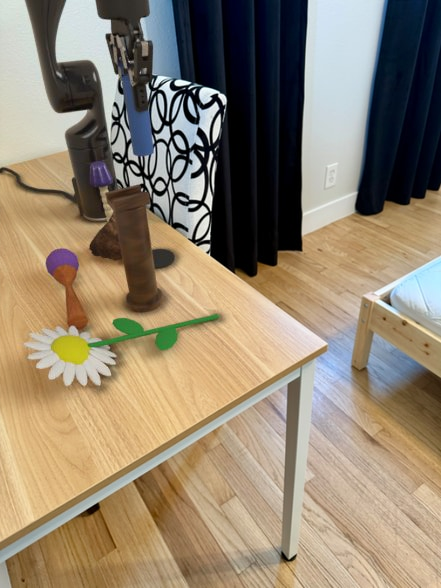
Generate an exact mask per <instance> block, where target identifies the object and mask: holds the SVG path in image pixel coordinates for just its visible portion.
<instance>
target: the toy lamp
mask: <svg viewBox="0 0 441 588" xmlns="http://www.w3.org/2000/svg"><path fill="white" fill-rule="evenodd" d="M112 182H113V178H112V176H111V174H110V172H109V170H108V168H107V166H106V164H105V163H104V162H102V161H97V162H93V163H92V164H91V165H90V184H91V185H92V186H95V187H99V189H100V194H101V196H102V202H103V203H104V204H103V207H104V209H105V215H106V216H107V217H106V219H107V221H106V223H107V222H108V221H109V219H110V218H111V216H112V214H113V210H112V208H111V207H110V206H109V205H108V204H107V200H106V195H105V193H106V192H109V191H108V189H107V188H108V186H107V185H109V184H111V183H112Z"/></svg>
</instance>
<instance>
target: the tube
mask: <svg viewBox="0 0 441 588" xmlns="http://www.w3.org/2000/svg"><path fill="white" fill-rule="evenodd" d="M122 83H123V88H122V91H123V90H124V95H123V98H124V97H125V101H124V104H125V103H126V104H125V109H126V116H127V121H128V122H127V123H128V128H129V129H128V130H129V135H130V142H131V149H132V154H133V155H134V156H136V157H149V156H151V155H153V154H154V153H155V148H154V140H153V132H152V125H151V117H150V116H151V115H150V107H149V108H148V110H147V111H141V112H137V111H136V110H135V109H134V103H133V96H132V89H131V86H132V85H131V83H130V78H129V75H128V76H124V77H122V81H121V84H122Z"/></svg>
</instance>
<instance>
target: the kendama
mask: <svg viewBox="0 0 441 588" xmlns="http://www.w3.org/2000/svg"><path fill="white" fill-rule="evenodd" d="M45 259H46V260H45V268H46V271H47V273H48V274H49V275H50V276H51V277H52V278H53V279H54V280H55V281H56V282H57V283H59V284H61V285H62V286H64V292H65V294H64V295H65V308H66V309H65V310H66V323H67V327H68V329H69V328H70V326H75V328H76V329H77V330H78V331H79V330H82V329H84V328H86V327H87V325H89V318H88V316H87V314H86V311H85V309H84V307H83V305H82V303H81V300H80V299H79V297H78V295H77V293H76V291H75V289H74V287H73V283H74V281H75V279H76V278H77V274H78V271H79V267H80V263H79V259H78V256H77V254H75V253H74V252H73V251H72V250H69V249H68V248H62V247H61V248H56V249H53V250H52V251H50V253H49V254H48V256H47V257H46V258H45Z"/></svg>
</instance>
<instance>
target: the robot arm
mask: <svg viewBox="0 0 441 588" xmlns="http://www.w3.org/2000/svg"><path fill="white" fill-rule="evenodd" d="M24 3H25V7H26V10H27V14H28V17H29V21H30V25H31V29H32V34H33V38H34V43H35V48H36V52H37V57H38V62H39V67H40V72H41V76H42V82H43V85H44V90H45V94H46V97H47V100H48V102H49V105H50V108H51V109H52V110H53V111H54V112H55V113H57V114H69V113H70V114H71V113H76V112H83V111H86V113H85V115H84V116H83V117H82V119H80V120H79V121H78V122H77V123H74V124H73V125H72V126H70V127H68V128H67V129H66V130H65V131H64V140H65V145H66V148H67V152H68V156H69V160H70V164H71V168H72V172H73V177H72V178H71V183H72V188H73V191H74V194H73V195H72V194H70V193H69V192H67V191H64V190H60V189H50V188H37V187H34V186H30V185H27V184H25V183H24V182H23V181H21V176H20V174H19V173H18V172H16V171H14V170H13V169H11V168H8V167H6V166H5V167H4V166H2V167H0V173H3V171H6V172H8V173H10V174H12V175H13V176H15V177H16V183H17V184H18V185H19V186H20V187H22V188H24V189H26V190H29V191H33V192H36V193H42V194H43V193H44V194H59V195H63V196H65V197H67V198H68V199H69V200H71V201H72V202H74V203H76V204H77V208H78V212H79V216H80V217H83V218H84V220H86V221H89V222H95V223H98V222H107V219H106V217H107V216H106V215H105V209H104V207H103V204H104V203H103V202H102V196H101V194H100V189H99V187H95V186H92V185H91V184H90V165H91V164H92V163H93V162H97V161H102V162H104V163H105V164H106V166H107V168H108V170H109V172H110V174H111V176H112V178H113V182H112V183H111V184H109V185H107V186H108V188H107V189H108V191H109V192H110V191H114V190H118V189H119V185H118V180H117V173H116V170H115V168H116V167H115V164H114V159H113V153H112V147H111V142H110V136H109V131H108V123H107V118H106V110H105V101H104V94H103V88H102V82H101V76H100V74H99V70H98V68H97V66H96V64H95V62H93V61H92V60H90V59H77V60H67V61H60V62H58V61H57V51H56V49H57V48H56V47H57V35H58V31H59V25H60V22H61V18H62V15H63V12H64V9H65V6H66V3H67V0H24ZM95 6H96V14H97V17H98V18H99V19H101V20H105V21H110V32H109V33H105V37H104V38H105V41H106V44H107V48H108V53H109V55H110V61H111V64H112V68H113V72H114V74H115V75H116V76H117V75H118V79H119V81H120V82H121V88H122V94H123V101H124V105H126V103H125V97H124V90H123V83H122V77H124V76H128V75H129V78H130V83H131V85H132V86H131V89H132V96H133V103H134V109H135V110H136V111H137V112H141V111H147V110H148V108H149V109H150V106H149V99H148V91H147V85H148V84H149V83H152V82H153V69H154V67H153V66H154V65H153V64H154V42H153V40H152V39H149V40H146V39H145V34H144V31H143V26H142V23H141V19H144V18H148V17H149V16H150V14H151V10H150V0H95ZM112 210H113V209H112Z"/></svg>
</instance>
